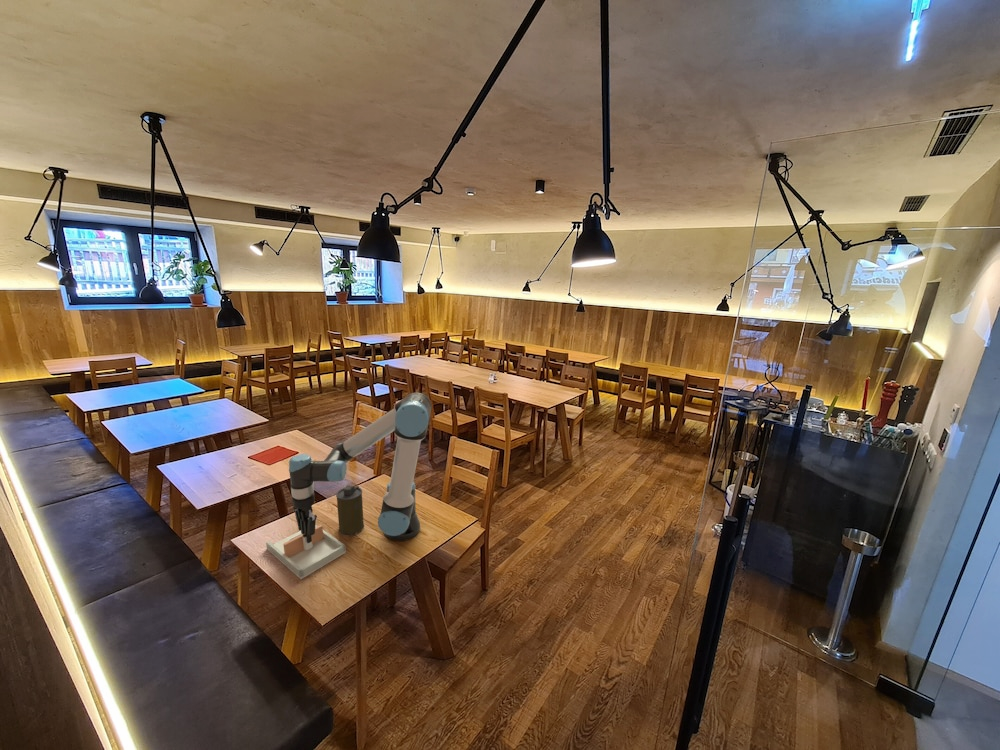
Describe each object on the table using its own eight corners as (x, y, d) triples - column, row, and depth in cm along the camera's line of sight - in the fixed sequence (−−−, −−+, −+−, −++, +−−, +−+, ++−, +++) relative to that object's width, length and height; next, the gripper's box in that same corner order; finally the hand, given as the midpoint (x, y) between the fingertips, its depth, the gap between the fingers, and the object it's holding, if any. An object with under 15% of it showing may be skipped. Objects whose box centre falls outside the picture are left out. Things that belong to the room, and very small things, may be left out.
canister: (355, 537, 162) (353, 495, 158) (333, 533, 164) (330, 491, 159) (369, 522, 173) (367, 482, 168) (348, 518, 175) (345, 478, 170)
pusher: (323, 538, 159) (322, 525, 158) (286, 558, 147) (284, 544, 146) (314, 531, 163) (312, 519, 162) (277, 550, 151) (275, 537, 150)
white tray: (345, 552, 153) (345, 545, 153) (300, 579, 139) (300, 571, 138) (310, 527, 168) (310, 520, 167) (266, 549, 154) (266, 542, 153)
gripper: (322, 496, 146) (326, 549, 151) (303, 485, 153) (308, 536, 158) (302, 505, 140) (307, 560, 145) (284, 492, 147) (290, 546, 152)
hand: (308, 548), depth 152 cm, fingers closed
